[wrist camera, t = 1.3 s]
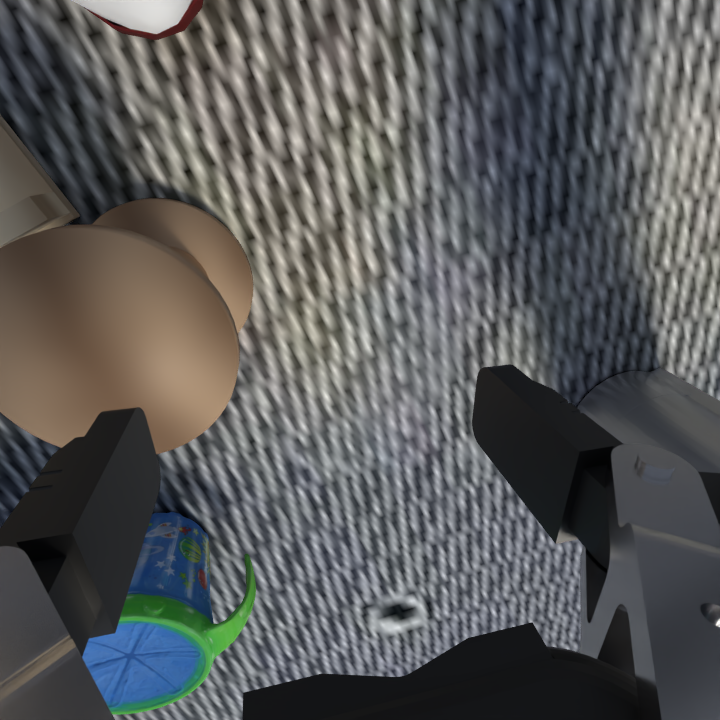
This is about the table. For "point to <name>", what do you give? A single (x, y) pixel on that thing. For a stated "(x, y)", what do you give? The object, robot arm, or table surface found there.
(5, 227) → the shallow rimmed tray
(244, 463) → the table surface
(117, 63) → the table surface
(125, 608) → the snack cup
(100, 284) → the tan spool shaped stand
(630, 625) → the robot arm
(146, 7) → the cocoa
